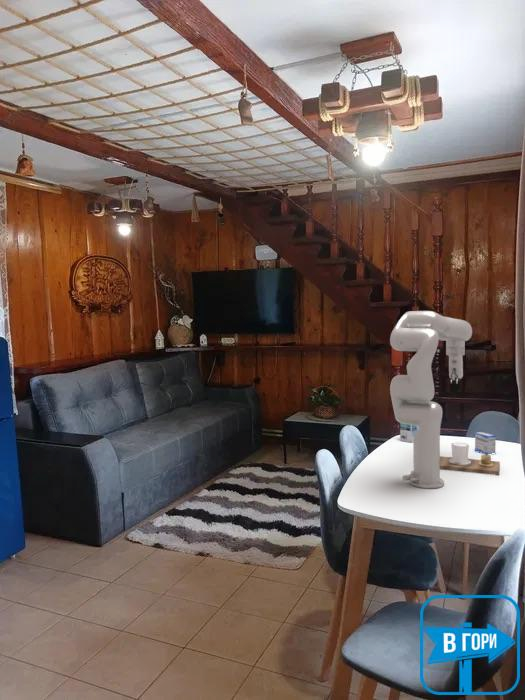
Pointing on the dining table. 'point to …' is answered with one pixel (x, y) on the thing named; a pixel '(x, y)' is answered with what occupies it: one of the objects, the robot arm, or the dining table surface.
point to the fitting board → (471, 465)
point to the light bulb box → (408, 432)
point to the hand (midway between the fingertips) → (455, 391)
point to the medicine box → (485, 442)
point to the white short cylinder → (460, 452)
